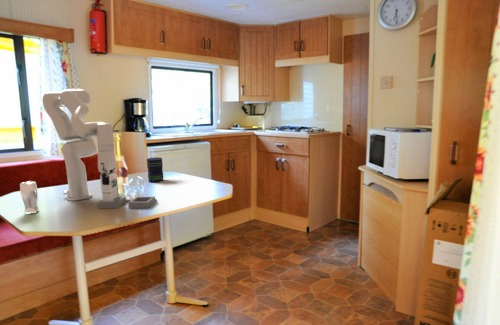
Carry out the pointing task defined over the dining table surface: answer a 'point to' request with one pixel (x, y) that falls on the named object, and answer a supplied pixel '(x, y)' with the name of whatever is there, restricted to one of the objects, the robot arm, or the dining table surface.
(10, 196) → the dining table surface
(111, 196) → the syrup box
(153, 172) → the storage jar
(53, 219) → the dining table surface
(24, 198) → the white vase
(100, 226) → the dining table surface
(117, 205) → the panel
